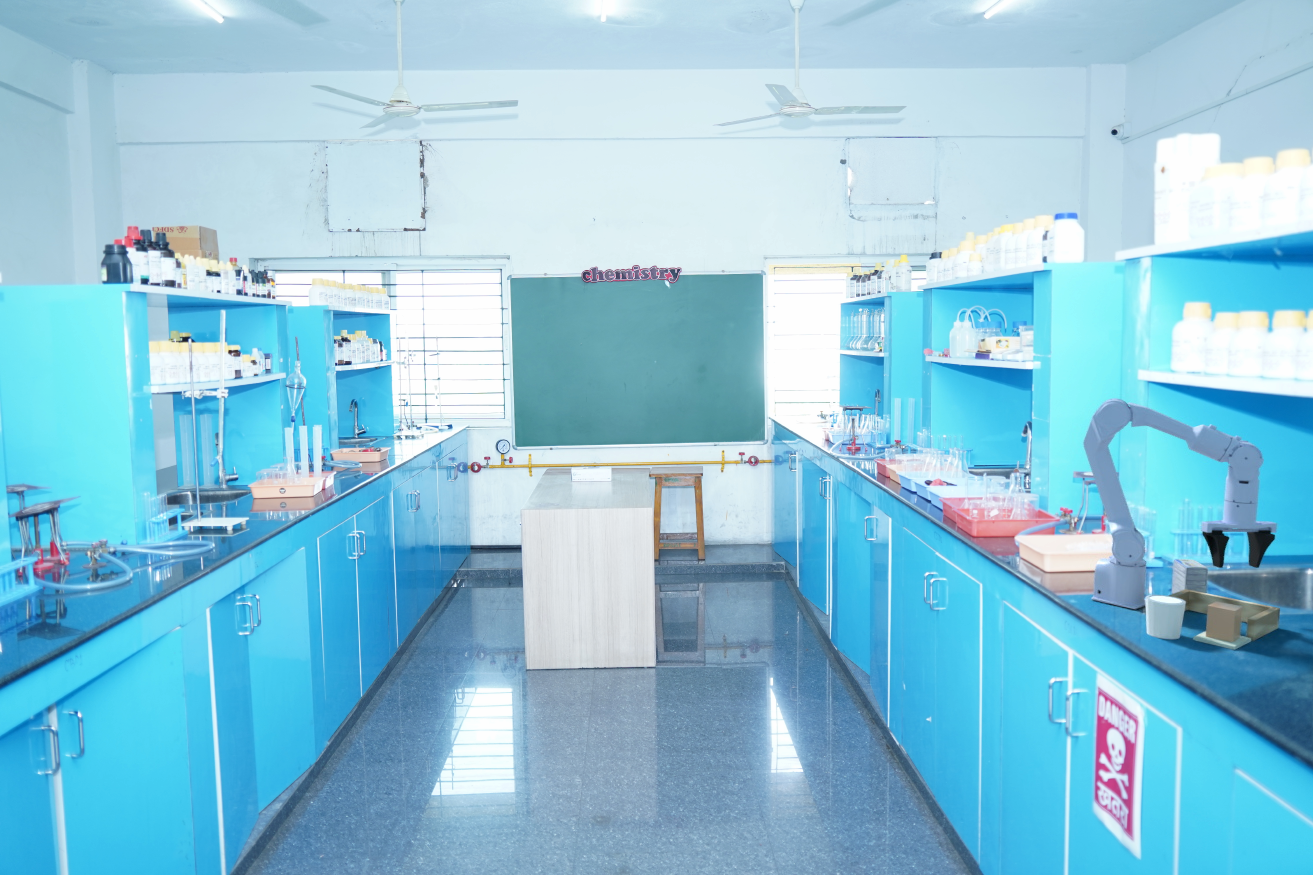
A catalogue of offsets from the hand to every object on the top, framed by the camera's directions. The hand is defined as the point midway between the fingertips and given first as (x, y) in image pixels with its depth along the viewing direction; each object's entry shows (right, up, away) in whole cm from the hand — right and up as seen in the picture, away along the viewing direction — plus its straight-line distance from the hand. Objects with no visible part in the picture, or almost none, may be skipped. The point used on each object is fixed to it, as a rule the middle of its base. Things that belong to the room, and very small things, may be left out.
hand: (1235, 566), depth 187 cm
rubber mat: (-12, -12, -15) cm, 22 cm away
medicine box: (-3, -10, +11) cm, 15 cm away
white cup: (-21, -12, -11) cm, 27 cm away
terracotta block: (-12, -11, -14) cm, 22 cm away
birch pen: (-6, -11, -4) cm, 13 cm away
